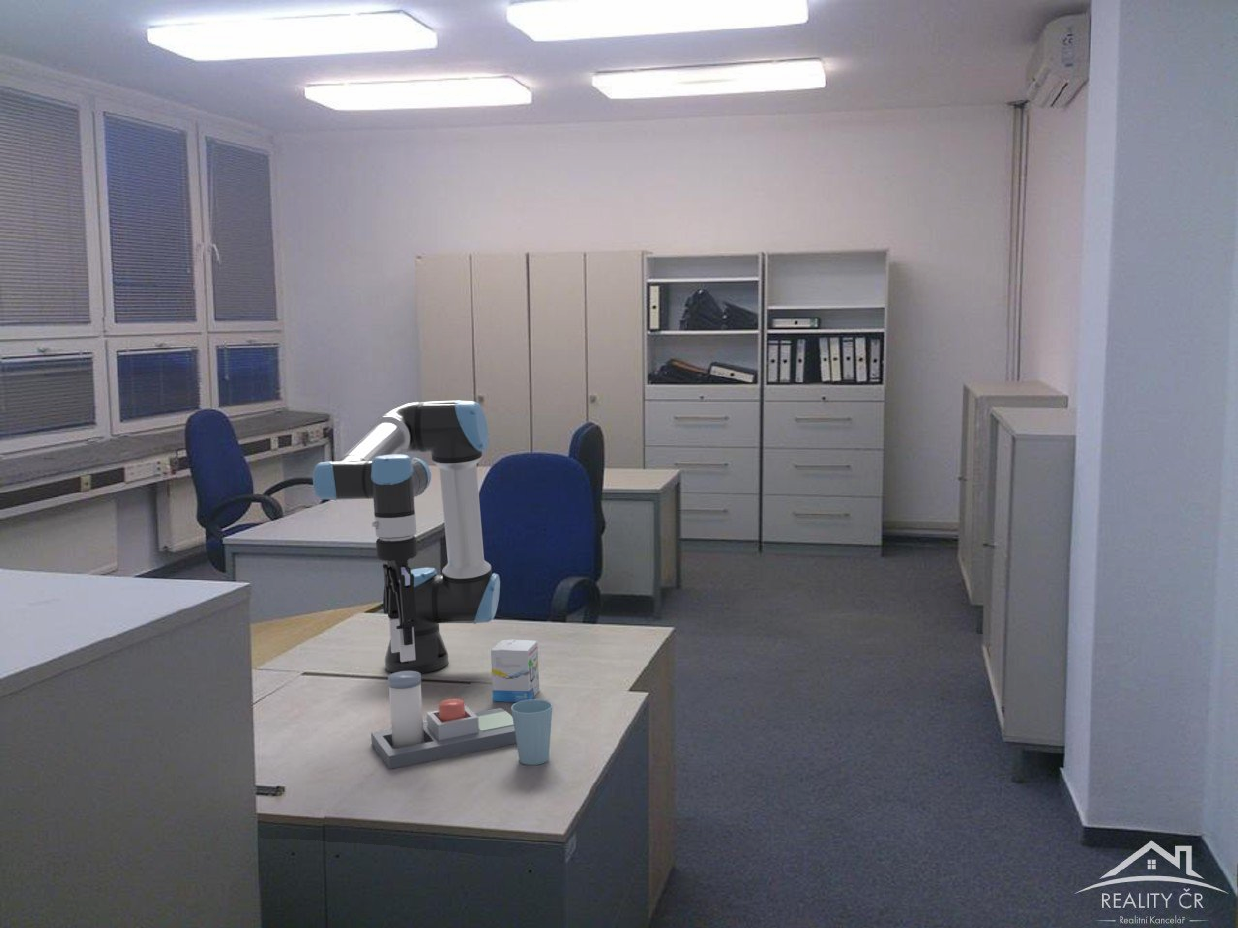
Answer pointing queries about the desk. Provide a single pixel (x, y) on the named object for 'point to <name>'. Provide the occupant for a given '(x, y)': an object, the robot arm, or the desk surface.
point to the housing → (449, 737)
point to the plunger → (451, 710)
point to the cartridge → (406, 708)
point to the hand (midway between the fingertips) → (403, 655)
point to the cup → (532, 730)
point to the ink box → (515, 670)
